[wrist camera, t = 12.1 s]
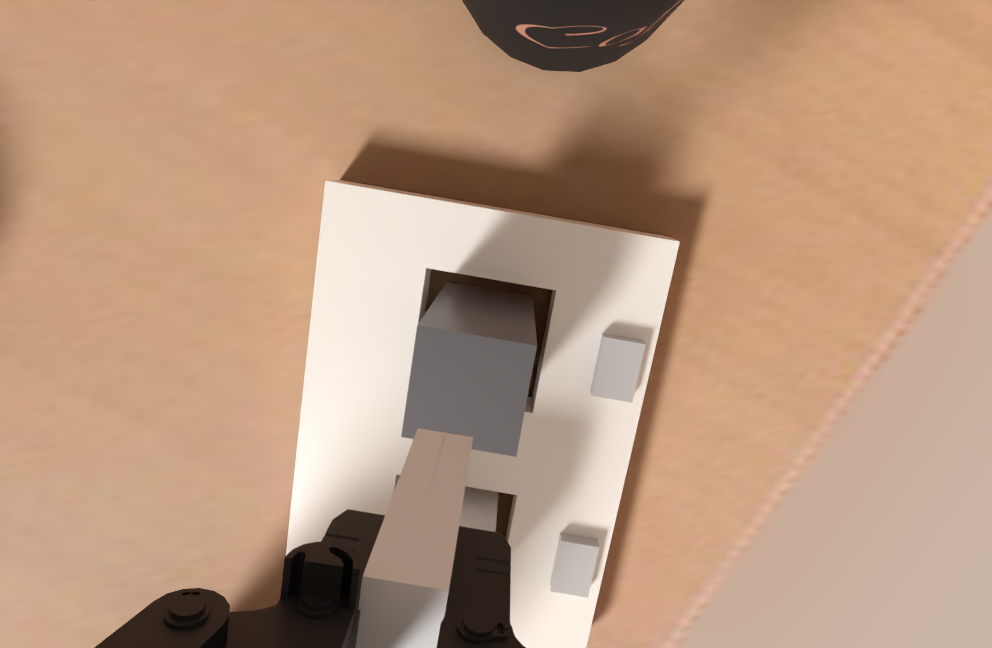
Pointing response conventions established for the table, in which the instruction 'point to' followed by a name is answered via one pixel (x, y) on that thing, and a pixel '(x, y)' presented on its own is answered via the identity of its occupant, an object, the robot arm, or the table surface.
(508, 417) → the dark grey block
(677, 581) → the table surface
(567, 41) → the coffee jar
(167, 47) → the table surface
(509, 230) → the white peg board
